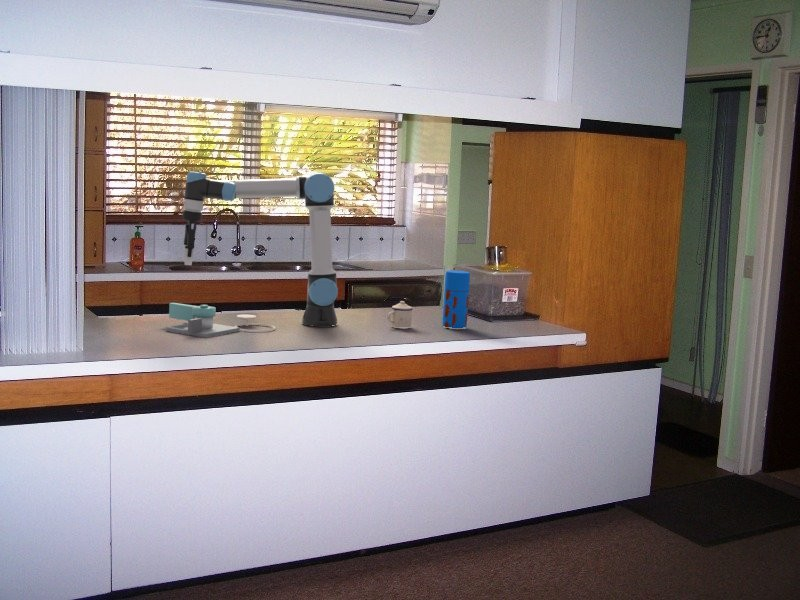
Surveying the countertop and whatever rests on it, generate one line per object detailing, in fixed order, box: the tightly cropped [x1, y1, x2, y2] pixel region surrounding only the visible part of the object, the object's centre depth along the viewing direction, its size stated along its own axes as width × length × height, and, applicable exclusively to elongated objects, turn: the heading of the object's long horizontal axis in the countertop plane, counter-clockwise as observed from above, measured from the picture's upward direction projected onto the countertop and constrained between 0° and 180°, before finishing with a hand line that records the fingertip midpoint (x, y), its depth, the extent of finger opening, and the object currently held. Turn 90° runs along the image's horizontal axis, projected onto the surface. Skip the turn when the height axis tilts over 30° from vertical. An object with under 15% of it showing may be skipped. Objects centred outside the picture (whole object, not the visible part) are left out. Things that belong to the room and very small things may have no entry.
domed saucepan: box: [168, 302, 217, 322], centre depth 342 cm, size 22×9×7 cm, turn 62°
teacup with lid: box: [386, 300, 413, 327], centre depth 373 cm, size 12×9×12 cm
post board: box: [166, 316, 241, 339], centre depth 338 cm, size 20×23×6 cm
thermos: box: [442, 270, 471, 328], centre depth 380 cm, size 11×11×25 cm
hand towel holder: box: [234, 313, 277, 333], centre depth 353 cm, size 17×4×21 cm
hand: (186, 263), depth 346 cm, fingers open, 13 cm apart
